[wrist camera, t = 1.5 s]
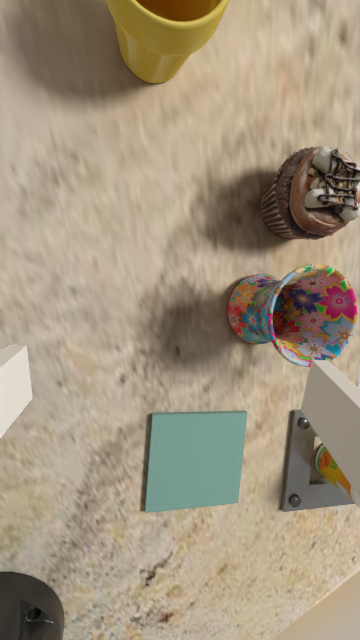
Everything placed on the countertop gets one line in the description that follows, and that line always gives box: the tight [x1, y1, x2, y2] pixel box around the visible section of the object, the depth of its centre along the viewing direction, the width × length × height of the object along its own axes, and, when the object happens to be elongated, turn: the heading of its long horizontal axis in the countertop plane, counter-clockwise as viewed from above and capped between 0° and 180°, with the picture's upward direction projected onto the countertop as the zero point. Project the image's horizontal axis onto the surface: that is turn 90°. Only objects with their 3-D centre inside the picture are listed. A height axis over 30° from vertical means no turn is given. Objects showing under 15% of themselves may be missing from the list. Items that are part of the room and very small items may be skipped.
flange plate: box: [281, 410, 355, 512], centre depth 41 cm, size 14×14×1 cm
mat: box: [145, 411, 247, 513], centre depth 36 cm, size 12×12×1 cm
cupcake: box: [261, 146, 360, 240], centre depth 32 cm, size 10×10×10 cm
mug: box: [228, 264, 357, 367], centre depth 32 cm, size 12×9×11 cm
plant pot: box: [105, 0, 229, 83], centre depth 26 cm, size 10×10×10 cm
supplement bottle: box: [315, 444, 360, 507], centre depth 37 cm, size 5×5×10 cm
